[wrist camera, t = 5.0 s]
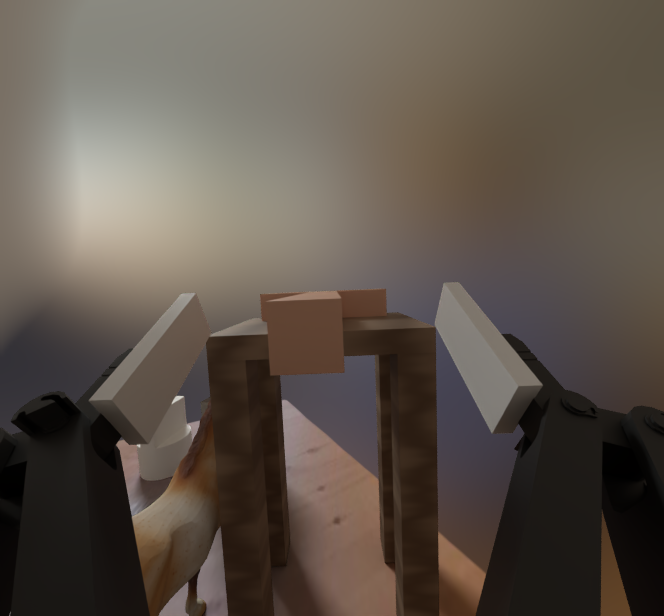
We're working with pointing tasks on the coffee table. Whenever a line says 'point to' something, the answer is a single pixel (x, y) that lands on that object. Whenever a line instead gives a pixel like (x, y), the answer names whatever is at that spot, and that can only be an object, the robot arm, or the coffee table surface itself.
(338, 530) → the coffee table surface
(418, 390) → the walnut table
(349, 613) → the coffee table surface
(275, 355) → the terracotta T
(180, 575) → the horse figurine
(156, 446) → the cylinder with rectangular tab
